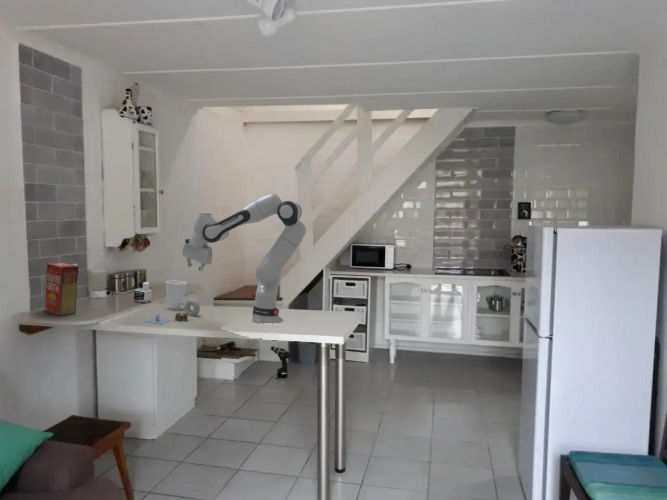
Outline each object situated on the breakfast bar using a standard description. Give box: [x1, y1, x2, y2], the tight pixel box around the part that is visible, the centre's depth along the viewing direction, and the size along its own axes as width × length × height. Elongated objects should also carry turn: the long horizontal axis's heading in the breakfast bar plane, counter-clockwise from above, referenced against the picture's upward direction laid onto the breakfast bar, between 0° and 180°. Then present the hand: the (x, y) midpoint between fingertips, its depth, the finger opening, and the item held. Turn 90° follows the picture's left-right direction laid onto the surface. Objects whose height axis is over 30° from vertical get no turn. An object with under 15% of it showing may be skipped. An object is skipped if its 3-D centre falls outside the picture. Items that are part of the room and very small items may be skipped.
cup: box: [165, 279, 188, 311], centre depth 287 cm, size 12×12×16 cm
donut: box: [183, 298, 201, 317], centre depth 275 cm, size 10×3×10 cm, turn 68°
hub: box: [143, 312, 171, 325], centre depth 255 cm, size 10×10×5 cm
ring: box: [174, 312, 189, 322], centre depth 263 cm, size 6×6×3 cm
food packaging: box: [43, 261, 80, 317], centre depth 252 cm, size 13×9×25 cm
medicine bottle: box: [133, 281, 153, 301], centre depth 296 cm, size 7×7×12 cm
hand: (194, 268), depth 261 cm, fingers open, 8 cm apart
